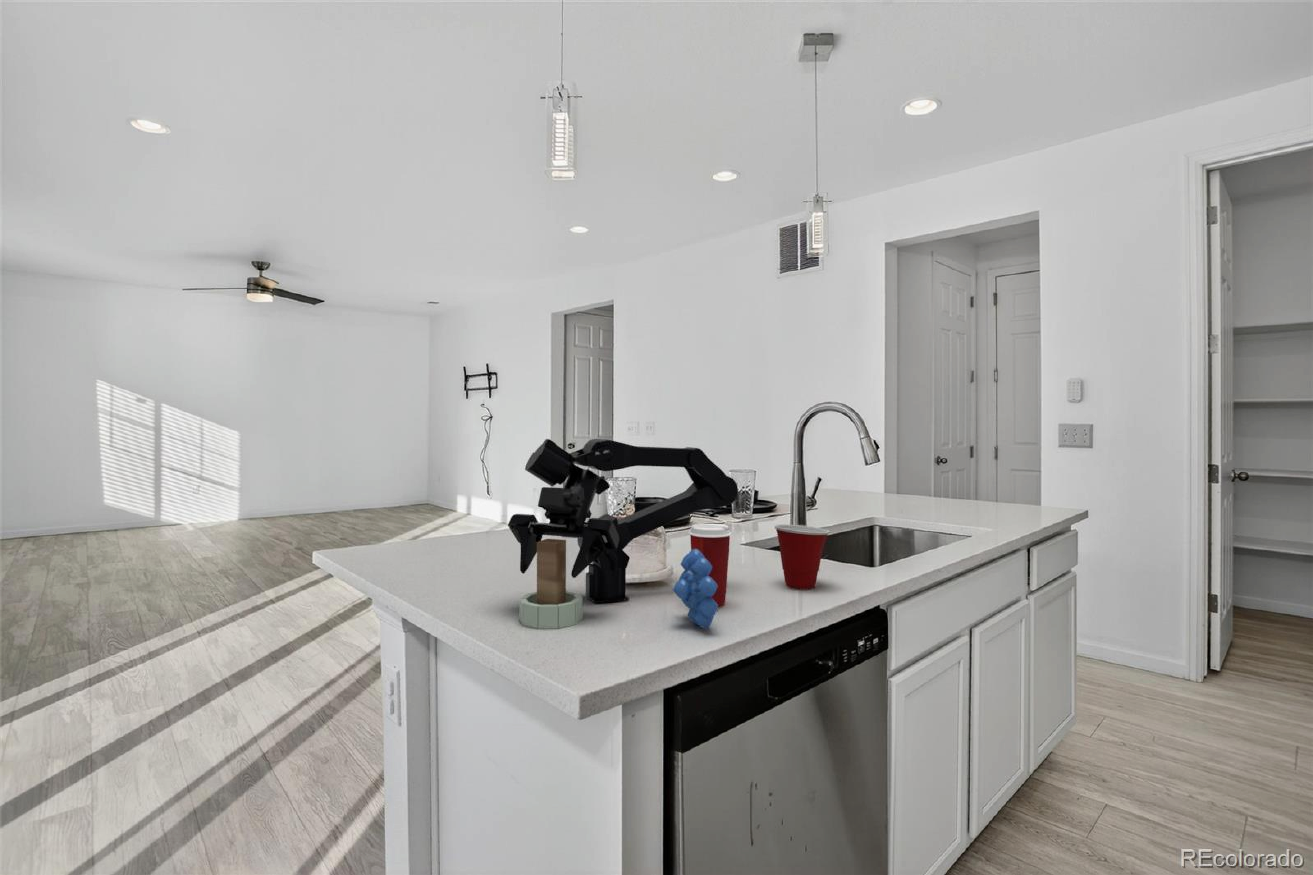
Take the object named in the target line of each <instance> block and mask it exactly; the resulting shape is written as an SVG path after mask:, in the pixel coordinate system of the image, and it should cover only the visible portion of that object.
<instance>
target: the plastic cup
mask: <svg viewBox="0 0 1313 875" xmlns="http://www.w3.org/2000/svg"><path fill="white" fill-rule="evenodd" d="M774 529H775V530H776V533H777V534H776V535H777V539H778V540H777V541H778V544H779V545H778V546H779V552H780V559H781V566H782V570H783V577H784V578H783V579H784V584H785V586H786V587H787V586H788V587H787V588H789V587H790V588H789V589H792V588H793V590H801V589H802V591H803V590H804V589H806V590H812V589H811V588H813V589H814V587H816V584H817V579H818V573H819V570H820V566H821V559H822V555H823V548H824V546H825V542H826V540H827V537H828V535H830V530H828V529H825V528H822V527H816V526H815V527H814V526H808V525H800V524H785V523H784V524H775V525H774ZM804 591H805V590H804Z"/></svg>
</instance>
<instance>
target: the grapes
mask: <svg viewBox="0 0 1313 875" xmlns="http://www.w3.org/2000/svg"><path fill="white" fill-rule="evenodd" d="M680 566H681V567H682V569H683V570H684V571H682V573H681V574H680V576H679V579H678V581H676V583H675V585H674V586H673V588H672V591H673V592H674V594H675V595H676V596H677V597H678V598H679V599H681V601H682V604H684V605H685V607H687V608H688V613H687V617H688V618H689V620H691V623H693V624H695V625H698V626H699V627H701V628H702V629H708V628H710V627H711V625H712V623H713V620H714V619H715V615H716V613H717V611H718V609H719V608H718V604H717V603H716V602H715V601H714V599H713V598H711V597H712V596H713V595H714V594H715V592H716V590H717V587H718V585H717V584H716V582H715V581H714V580H713V579H712V578H711V577H709V576H708V575H709V574H710V572H711V570H712V565H711V564H710V562H709V561H708V560H707V559H705V557H704V555H703V554H702V553H701V552H700V551H699V550H697V549H692V550H691V549H690V551H689V552H688V553H687V554H686V555H685V556H684V557H683V559H682V560H681V562H680Z"/></svg>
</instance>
